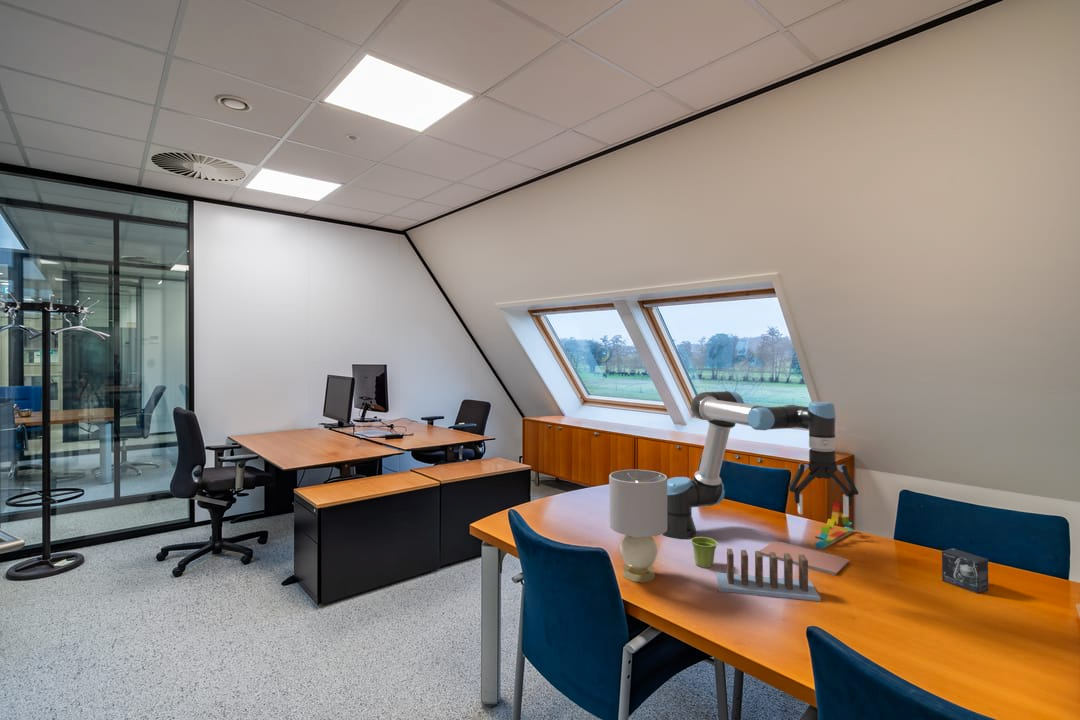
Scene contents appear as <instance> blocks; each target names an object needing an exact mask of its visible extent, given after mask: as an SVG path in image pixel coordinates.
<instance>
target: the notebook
mask: <svg viewBox="0 0 1080 720" xmlns="http://www.w3.org/2000/svg"><path fill="white" fill-rule="evenodd" d="M759 551H760V552H761V554H762V556H763V557H764V556H765V557H768V558H769V552H775V554H776V556H777V558H778V561H782V562H784V553H789V554H790V556H791V557H792V559H793V565H796V566H799V554H801V555H804V556H805V557H806V558H807V560H808V569H811V570H815V571H819V572H822V573H825V574H830V575H833V576H836V574H838V573H839V572H840V571H841V570H842V569H843V568H844V567H845V566H846V565H847V564H848V563H849V561H850V559H847V558H844V557H843V556H839V555H835V554H830V553H828V552H827V553H826V552H825V551H820V550H816V549H815V550H814V549H812V548H811V549H810V548H807V547H803V546H800V545H795V544H791V543H787V542H784V541H783V542H782V541H780V542H779V541H776V540H774V541H772V542H770V543H769V544H768V545H766V546H764V547H763V548H761V549H760V550H759Z"/></svg>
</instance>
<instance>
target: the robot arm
mask: <svg viewBox="0 0 1080 720" xmlns="http://www.w3.org/2000/svg"><path fill="white" fill-rule="evenodd" d="M835 409H836V408H835V405H834V403H833V402H830V401H810V402H809V403H808V406H803V405H802V406H801V405H796V404H786V405H783V406H761V405H755V404H748V403H745V402H744V399H743V397H742V395H740V394H739V393H738V392H736V391H729V390H725V391H703V392H700V393H699V394H697V395H695V396H694V397H693V398H692V400H691V404H690V410H691V412H692V414H693V416H694V417H696V418H697V419H699V420H701V421H707V423H708V429H707V433H706V438H705V440H704V441H705V442H704V447H703V451H702V455H701V460H700V464H699V468H698V470H697V471H695V472H694V475H693V479H691V478H689V477H687V476H674V477H669V478H667V531H666V532H665V533H663V534H662V535H664V536H665V537H670V538H673V539H689V538H694V537H695V536H696V535H697V528H696V525H695V522H694V519H693V516H692V515H693V514H692V513H693V511H692V508H699V507H710V506H715V505H718V504H720V503H721V502H722V501H723V500H724V498H725V493H726V490H725V485H724V483H723V481H722V478H721V477H720V473H721V468H722V465H723V461H724V456H725V453H726V449H727V443H728V439H729V435H730V432H731V429H732V428H735V426H736V424H739V425H743V426H749V427H751V428H752V429H753V430H755V431H767V430H781V429H782V430H783V429H804V430H808V446H809V447H808V448H810V449H809V451H808V455H809V456H808V458H809V459H808V461H809V462H808V464H805V463H802V462H799V463H798V466H797V467H798V468H797V470H796V472H795V475H794V476H793V477H792V480H791V482H790V483H789V485H788V490H789V491H790V492H791V493H793V496H794V497H793V498H794V499H793V501H794V503H795V504H797V513H798V514H799V515H801V516H802V515H803V493H802V491H803V490H804V489H805V488H806V487H807V486H808V485H809V484H810V483H811V482H812V481H813V480H815V479H816V478H817V479H826V480H827V479H830V478H831V479H832V480H833V481H834V482H835V483H836V485H838V487H839V488H840V489H841V490H842V492H844V494H842V504H843V505H842V511H843V512H842V514H843V515H845V516H846V517H848V518H849V517H850V511H849V509H850V507H852V505H853V497H854V496H855V495H859V494H860V493H859V491H858V489H857V487H856V486H855V484H854V482H853V479H852V477H851V476H850V474H849V473H848V467H847V465H845V464H843V463H841V464H838V465H837V463H836V461H837V460H836V457H837V455H836V451H835V450H836V417H837V416H836V410H835ZM806 470H809V472H808V474H807V475H806V476H805V478H803V480H802V481H801V478H802V477H803V475H804V472H806ZM837 470H838V471H839V472H840V473H841V475H842V476H843V478H844V480H845V481H846V484H847V486H848V488H849V489H850V490H849V489H848V488H847V486H846V485H845V484H844V483H843V482H842V481H841V480H840V478H839V477H838V476H837V475H836V474H835V473H836V472H837ZM800 481H801V482H800ZM799 482H800V483H799Z"/></svg>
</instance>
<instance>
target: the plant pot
mask: <svg viewBox="0 0 1080 720" xmlns="http://www.w3.org/2000/svg"><path fill="white" fill-rule="evenodd" d="M690 543H691V545H692V547H693V554H694V562H695V563H694V564H695V565H696V566H698V567H700V568H705V569H706V568H707V569H708V568H710V567H713V565H714V558H715V552H716V549H717V546H718V541H717V540H715V539H713V538H711V537H705V536H696V537H695V536H694V537H691V540H690Z"/></svg>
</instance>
